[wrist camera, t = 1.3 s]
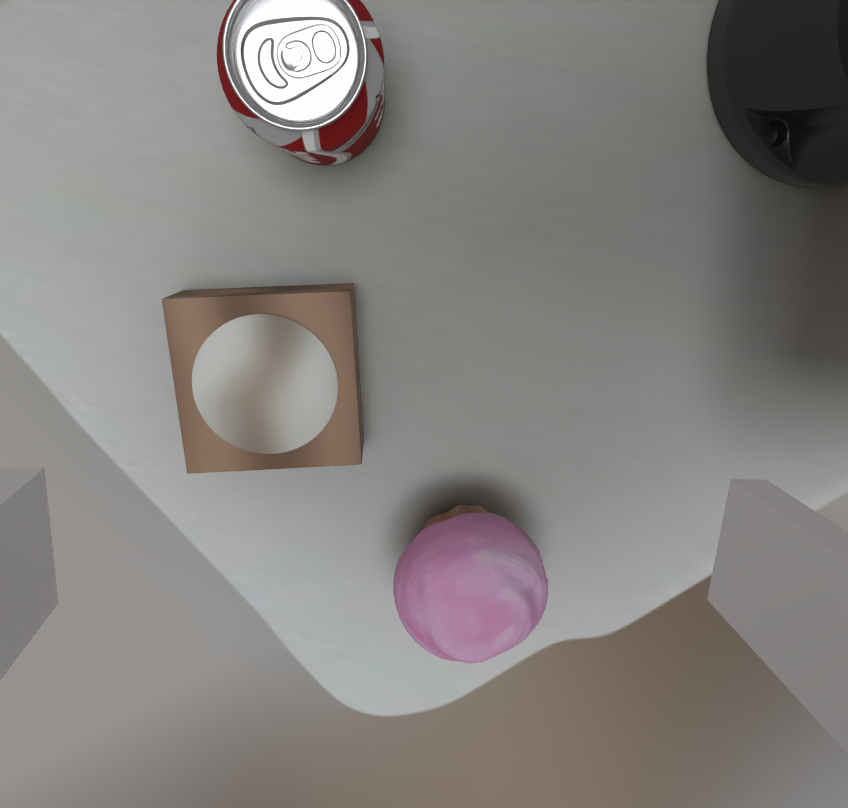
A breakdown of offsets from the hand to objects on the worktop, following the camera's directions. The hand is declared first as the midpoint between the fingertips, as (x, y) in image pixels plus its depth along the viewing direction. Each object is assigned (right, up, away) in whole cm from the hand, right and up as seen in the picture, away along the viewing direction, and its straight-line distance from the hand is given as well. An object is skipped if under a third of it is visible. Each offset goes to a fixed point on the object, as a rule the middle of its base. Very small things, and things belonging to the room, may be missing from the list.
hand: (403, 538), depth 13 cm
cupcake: (+3, -6, +32) cm, 33 cm away
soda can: (-5, +19, +24) cm, 31 cm away
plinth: (-9, +5, +28) cm, 30 cm away
